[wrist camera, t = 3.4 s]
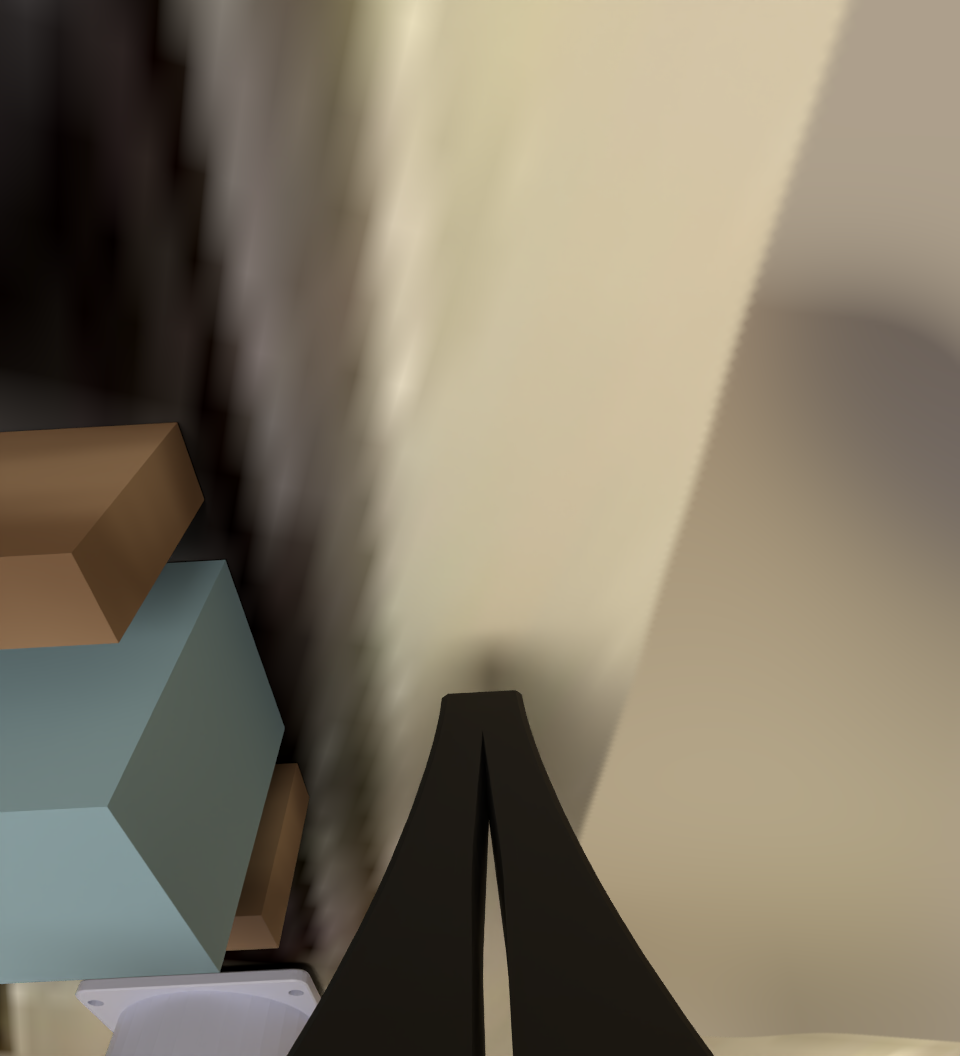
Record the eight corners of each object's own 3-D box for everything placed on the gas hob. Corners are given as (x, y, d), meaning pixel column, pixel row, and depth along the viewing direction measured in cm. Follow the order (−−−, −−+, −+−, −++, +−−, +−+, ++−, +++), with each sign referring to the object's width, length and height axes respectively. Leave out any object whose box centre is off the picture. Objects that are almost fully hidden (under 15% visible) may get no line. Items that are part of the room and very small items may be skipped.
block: (284, 728, 15) (219, 972, 11) (-56, 746, 15) (-247, 995, 11) (225, 559, 12) (107, 806, 8) (-196, 583, 12) (-526, 839, 8)
